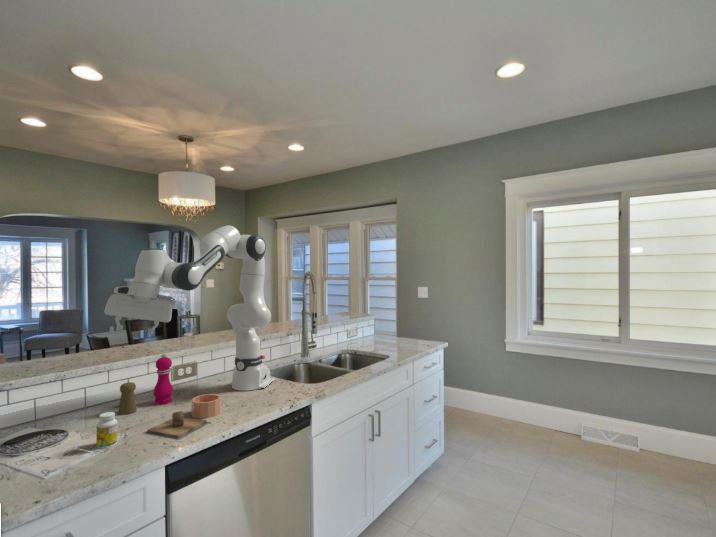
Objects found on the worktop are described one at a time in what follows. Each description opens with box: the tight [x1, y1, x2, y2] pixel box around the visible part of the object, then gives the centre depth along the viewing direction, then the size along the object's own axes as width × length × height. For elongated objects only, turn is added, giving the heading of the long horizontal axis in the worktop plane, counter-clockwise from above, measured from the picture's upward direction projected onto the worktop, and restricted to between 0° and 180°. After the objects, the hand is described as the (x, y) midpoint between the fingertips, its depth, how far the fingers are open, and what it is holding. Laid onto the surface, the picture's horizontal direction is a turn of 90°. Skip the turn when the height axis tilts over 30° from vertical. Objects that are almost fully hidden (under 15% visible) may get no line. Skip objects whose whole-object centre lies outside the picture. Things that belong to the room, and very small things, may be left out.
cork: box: [117, 381, 137, 416], centre depth 142 cm, size 6×6×11 cm
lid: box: [146, 411, 208, 438], centre depth 127 cm, size 13×13×5 cm
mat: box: [142, 421, 212, 441], centre depth 127 cm, size 15×15×1 cm
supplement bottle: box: [95, 411, 119, 449], centre depth 115 cm, size 5×5×10 cm
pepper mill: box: [152, 353, 174, 406], centre depth 154 cm, size 7×7×20 cm
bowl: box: [191, 393, 222, 420], centre depth 141 cm, size 10×10×6 cm
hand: (134, 332), depth 127 cm, fingers open, 8 cm apart
